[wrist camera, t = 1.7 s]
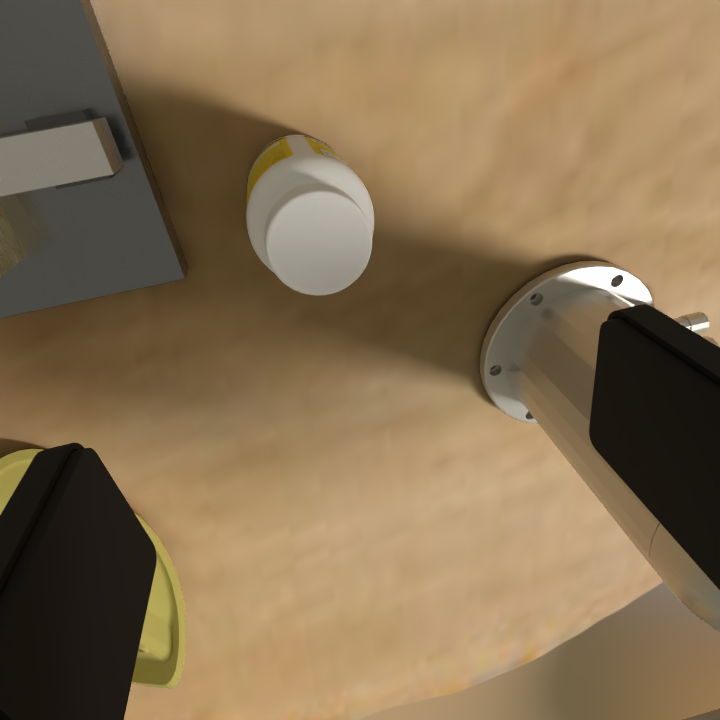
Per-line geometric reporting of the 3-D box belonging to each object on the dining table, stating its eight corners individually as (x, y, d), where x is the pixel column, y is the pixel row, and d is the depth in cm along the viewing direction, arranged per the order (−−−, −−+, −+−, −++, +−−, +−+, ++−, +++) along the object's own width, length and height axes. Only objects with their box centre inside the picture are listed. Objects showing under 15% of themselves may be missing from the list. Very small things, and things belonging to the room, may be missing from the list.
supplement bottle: (252, 240, 27) (251, 317, 19) (241, 133, 24) (234, 168, 16) (349, 236, 28) (387, 308, 20) (349, 133, 25) (394, 165, 17)
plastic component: (-132, 553, 30) (-78, 538, 25) (-34, 459, 36) (26, 431, 31) (112, 682, 39) (189, 690, 34) (161, 592, 45) (234, 587, 39)
